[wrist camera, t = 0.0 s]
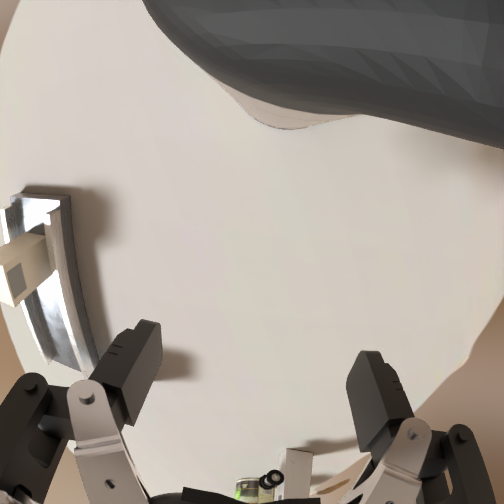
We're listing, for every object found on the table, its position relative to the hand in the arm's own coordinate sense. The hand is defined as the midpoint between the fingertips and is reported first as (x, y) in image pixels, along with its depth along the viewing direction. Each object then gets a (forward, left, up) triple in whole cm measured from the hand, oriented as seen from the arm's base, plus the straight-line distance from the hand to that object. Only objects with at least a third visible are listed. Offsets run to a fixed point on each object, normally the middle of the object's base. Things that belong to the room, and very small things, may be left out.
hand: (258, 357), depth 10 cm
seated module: (+7, -27, -15) cm, 32 cm away
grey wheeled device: (+45, +12, -17) cm, 49 cm away
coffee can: (+69, +9, -17) cm, 71 cm away
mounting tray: (+14, -27, -17) cm, 35 cm away
